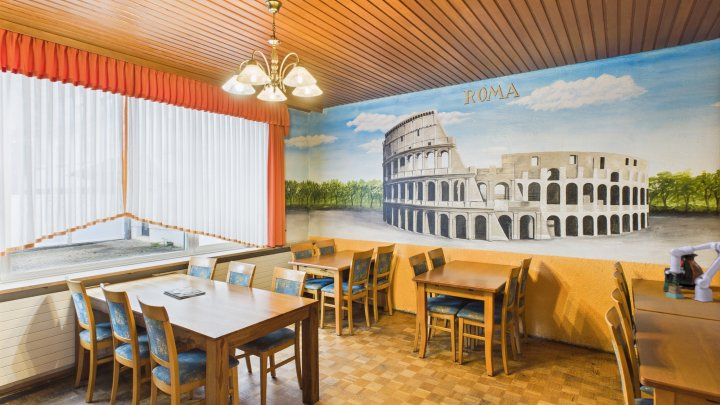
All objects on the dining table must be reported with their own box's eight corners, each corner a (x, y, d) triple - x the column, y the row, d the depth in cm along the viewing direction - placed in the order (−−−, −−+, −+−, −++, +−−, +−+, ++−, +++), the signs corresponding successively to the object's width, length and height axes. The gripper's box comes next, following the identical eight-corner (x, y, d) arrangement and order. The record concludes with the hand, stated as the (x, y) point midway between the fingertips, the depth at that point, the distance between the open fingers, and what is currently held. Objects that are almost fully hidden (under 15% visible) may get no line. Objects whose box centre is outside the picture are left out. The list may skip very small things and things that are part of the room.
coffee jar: (662, 291, 292) (663, 268, 291) (663, 289, 298) (664, 266, 297) (679, 294, 285) (680, 269, 285) (679, 292, 291) (680, 268, 291)
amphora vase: (672, 283, 321) (673, 250, 320) (706, 288, 304) (707, 253, 303) (666, 286, 307) (667, 253, 306) (701, 292, 290) (702, 256, 290)
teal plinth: (674, 295, 280) (674, 291, 279) (683, 298, 273) (683, 294, 273) (666, 296, 278) (666, 292, 278) (675, 298, 271) (675, 294, 271)
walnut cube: (674, 292, 278) (674, 285, 278) (681, 294, 274) (681, 287, 273) (668, 292, 278) (668, 285, 278) (675, 294, 273) (675, 287, 273)
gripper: (678, 263, 280) (677, 281, 281) (661, 264, 278) (661, 282, 278) (687, 265, 273) (687, 284, 274) (671, 265, 271) (670, 284, 271)
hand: (674, 283), depth 275 cm, fingers open, 7 cm apart
